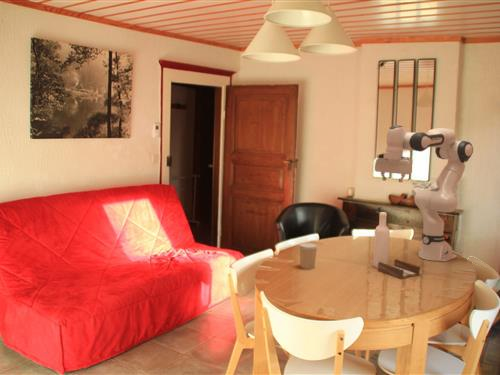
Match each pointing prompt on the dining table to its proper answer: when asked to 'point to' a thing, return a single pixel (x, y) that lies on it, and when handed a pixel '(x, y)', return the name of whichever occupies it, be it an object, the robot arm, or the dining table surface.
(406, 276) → the cradle
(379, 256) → the bottle
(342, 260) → the dining table surface
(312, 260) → the coffee cup
